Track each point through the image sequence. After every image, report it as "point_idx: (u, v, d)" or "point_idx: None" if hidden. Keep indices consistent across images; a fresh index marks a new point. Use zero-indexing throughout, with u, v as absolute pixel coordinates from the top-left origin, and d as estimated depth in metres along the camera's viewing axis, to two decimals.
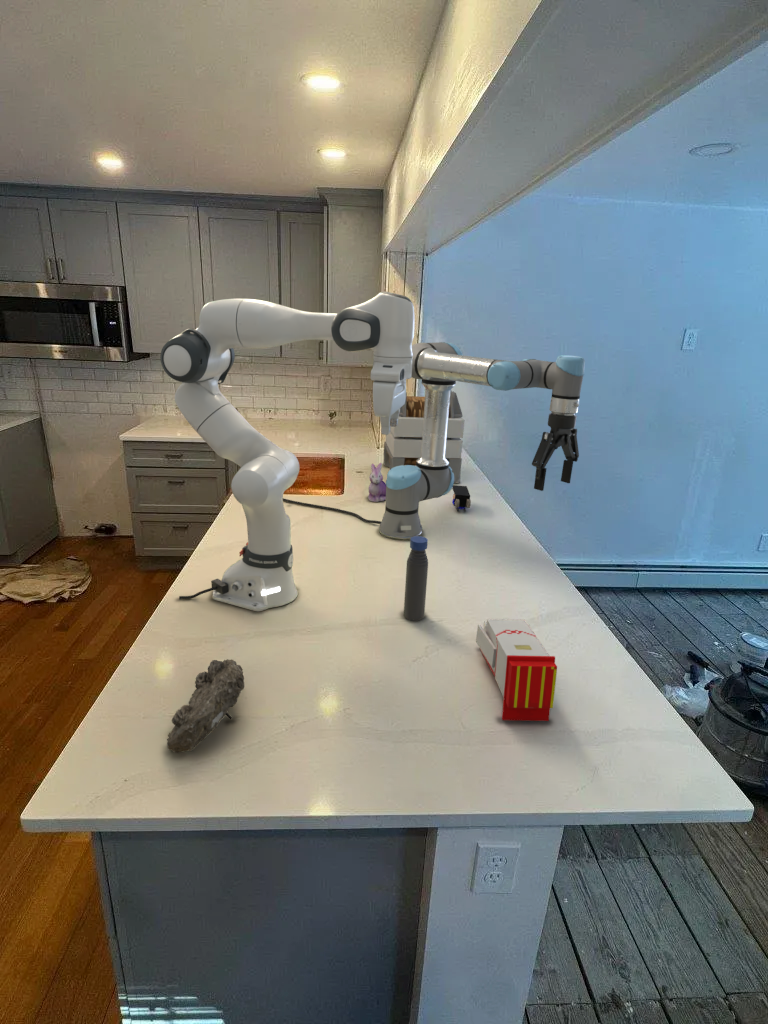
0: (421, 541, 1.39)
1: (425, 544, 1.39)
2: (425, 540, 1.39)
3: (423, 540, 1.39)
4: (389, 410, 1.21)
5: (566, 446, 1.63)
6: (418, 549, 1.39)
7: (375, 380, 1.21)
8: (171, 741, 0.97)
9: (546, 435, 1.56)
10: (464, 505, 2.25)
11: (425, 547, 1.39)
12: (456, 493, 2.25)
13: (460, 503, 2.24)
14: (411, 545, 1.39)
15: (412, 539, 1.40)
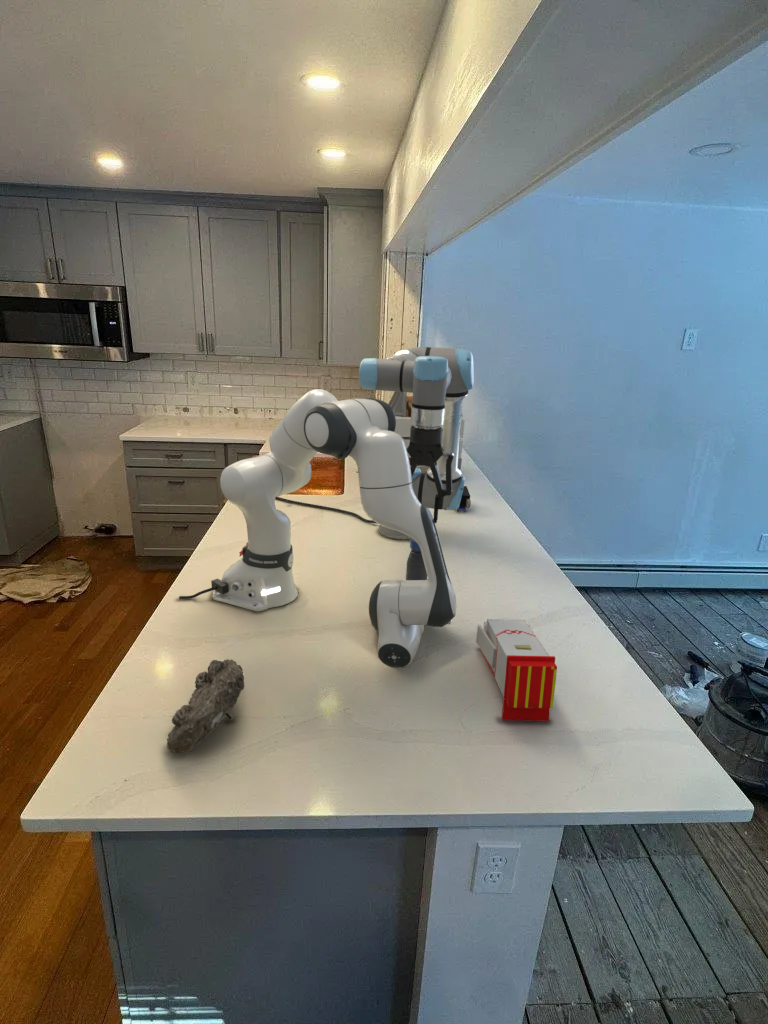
0: None
1: None
2: None
3: None
4: None
5: None
6: (418, 549, 1.39)
7: None
8: (171, 741, 0.97)
9: (453, 457, 1.32)
10: (464, 505, 2.25)
11: None
12: None
13: (460, 503, 2.24)
14: (411, 545, 1.39)
15: (412, 539, 1.40)
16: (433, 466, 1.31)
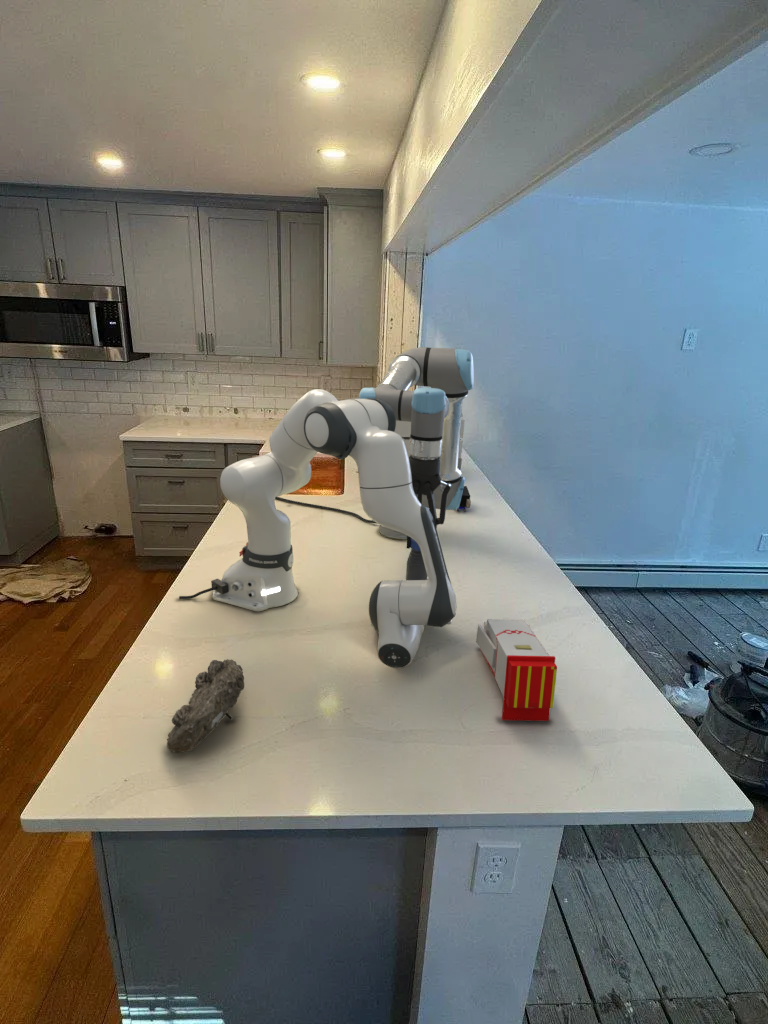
0: None
1: None
2: None
3: None
4: None
5: (416, 496, 1.37)
6: (418, 549, 1.39)
7: None
8: (171, 741, 0.97)
9: (450, 488, 1.34)
10: (464, 505, 2.25)
11: None
12: None
13: (460, 503, 2.24)
14: (411, 545, 1.39)
15: (412, 539, 1.40)
16: (430, 495, 1.34)
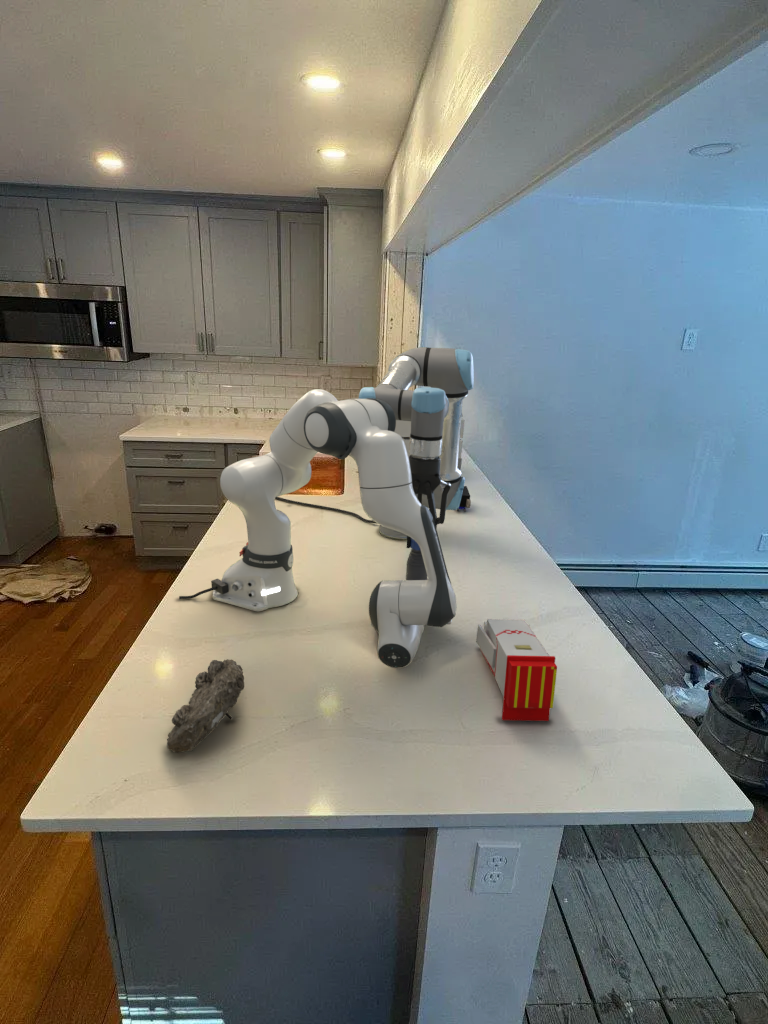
0: None
1: None
2: None
3: None
4: None
5: (416, 496, 1.37)
6: None
7: None
8: (171, 741, 0.97)
9: None
10: (464, 505, 2.25)
11: None
12: None
13: (460, 503, 2.24)
14: None
15: None
16: (430, 495, 1.34)
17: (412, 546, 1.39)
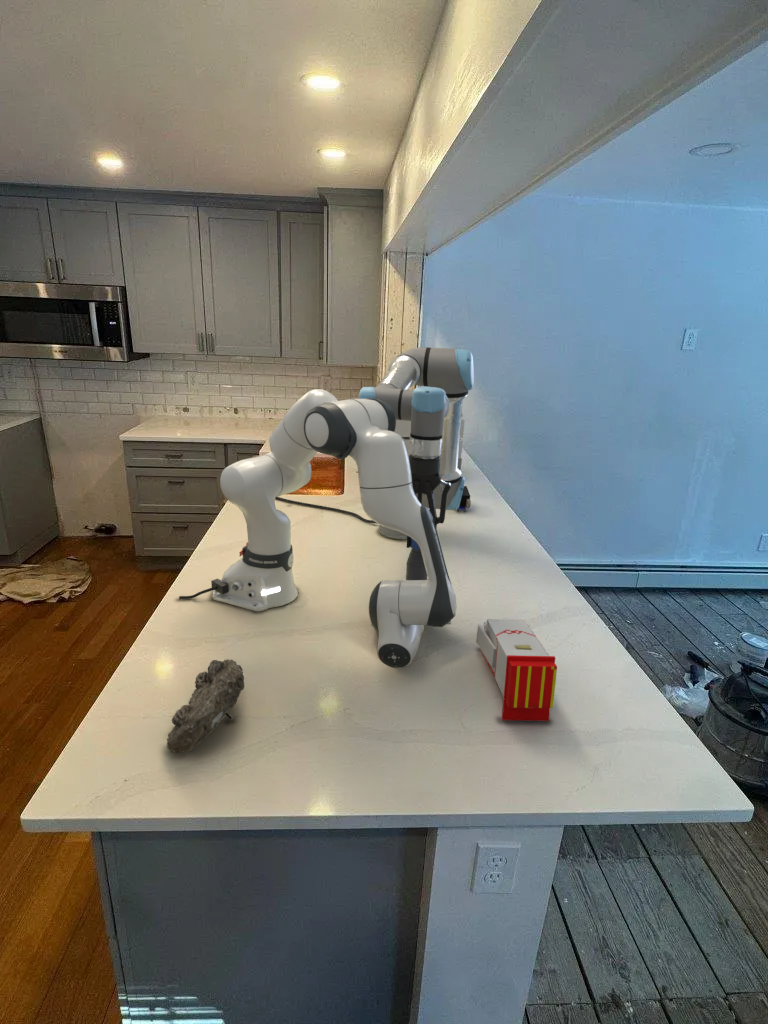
0: None
1: (410, 540, 1.40)
2: (413, 539, 1.39)
3: None
4: None
5: (416, 495, 1.37)
6: None
7: None
8: (171, 741, 0.97)
9: (450, 487, 1.34)
10: (464, 505, 2.25)
11: (410, 543, 1.40)
12: None
13: (460, 503, 2.24)
14: None
15: None
16: (430, 494, 1.34)
17: None
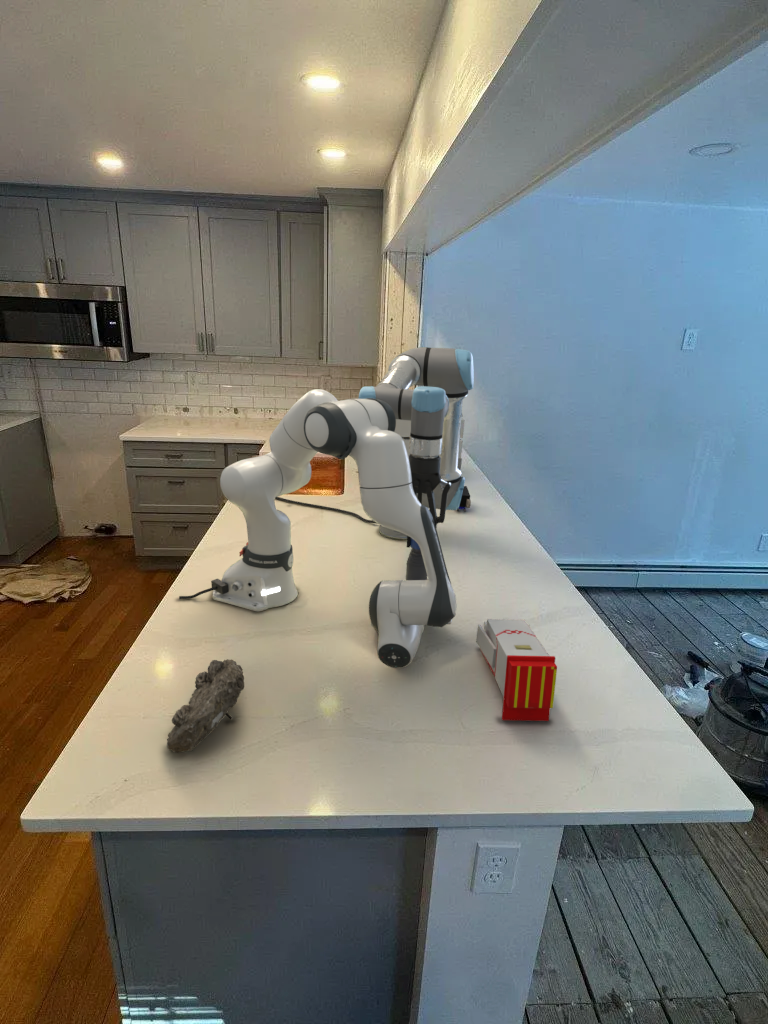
0: None
1: None
2: None
3: None
4: None
5: (416, 495, 1.37)
6: (414, 547, 1.39)
7: None
8: (171, 741, 0.97)
9: None
10: (464, 505, 2.25)
11: None
12: None
13: (460, 503, 2.24)
14: (410, 542, 1.40)
15: None
16: (430, 494, 1.34)
17: None
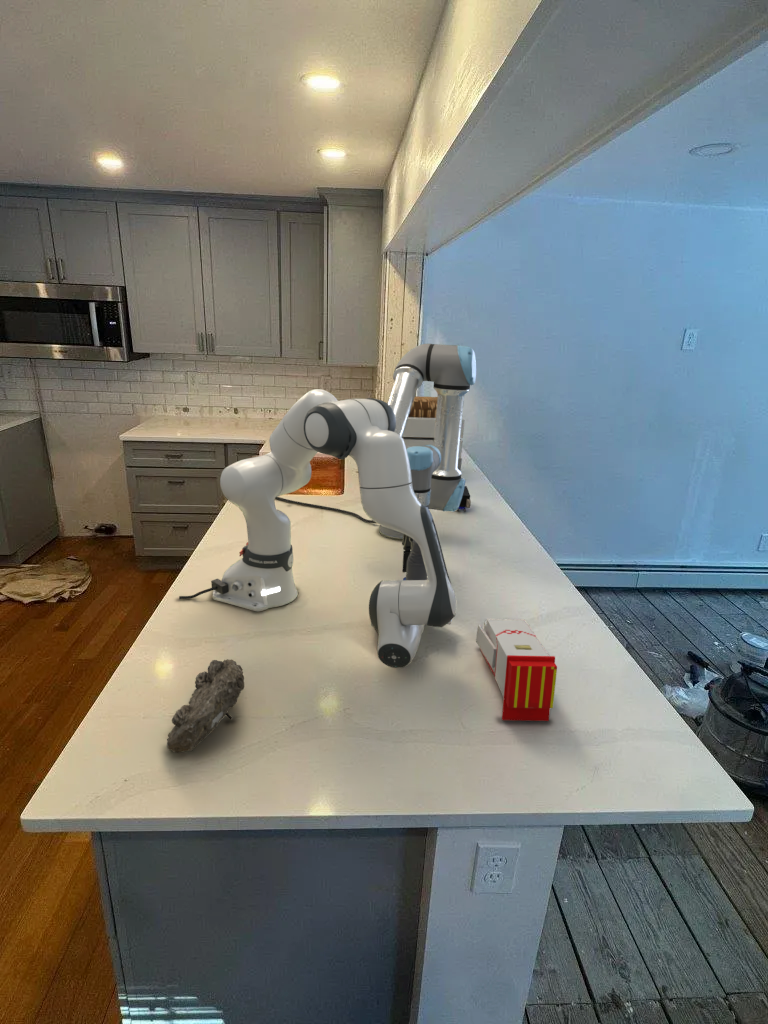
0: None
1: None
2: None
3: None
4: None
5: None
6: None
7: None
8: (171, 741, 0.97)
9: None
10: (464, 505, 2.25)
11: None
12: None
13: (460, 503, 2.24)
14: None
15: None
16: None
17: None
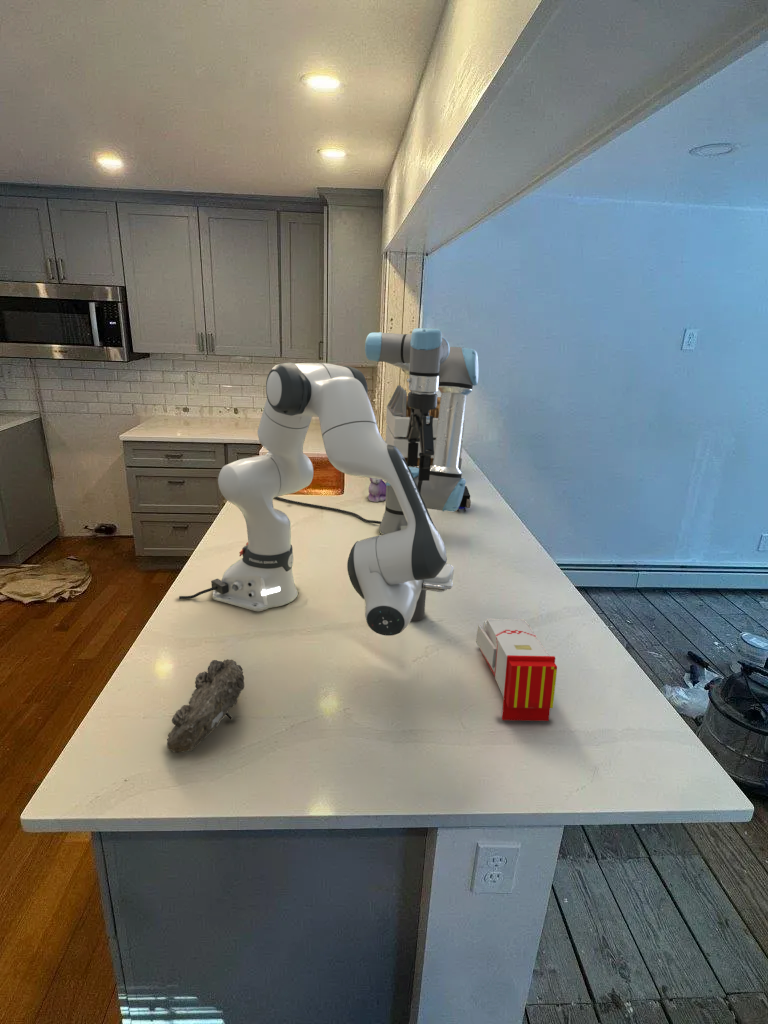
0: None
1: None
2: None
3: None
4: None
5: None
6: None
7: None
8: (171, 741, 0.97)
9: None
10: (464, 505, 2.25)
11: None
12: None
13: (460, 503, 2.24)
14: None
15: None
16: None
17: None
